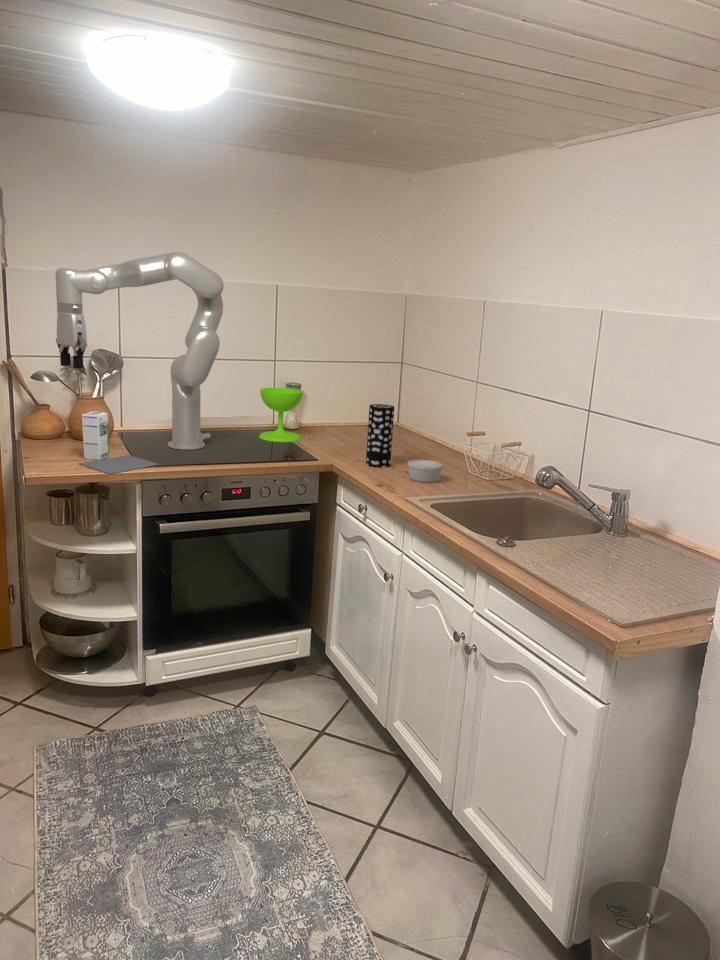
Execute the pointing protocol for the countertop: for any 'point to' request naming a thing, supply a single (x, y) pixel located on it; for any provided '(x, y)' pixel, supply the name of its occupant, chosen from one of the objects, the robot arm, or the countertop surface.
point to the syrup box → (95, 435)
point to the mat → (118, 464)
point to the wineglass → (280, 411)
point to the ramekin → (424, 471)
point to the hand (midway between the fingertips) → (71, 366)
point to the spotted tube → (379, 435)
